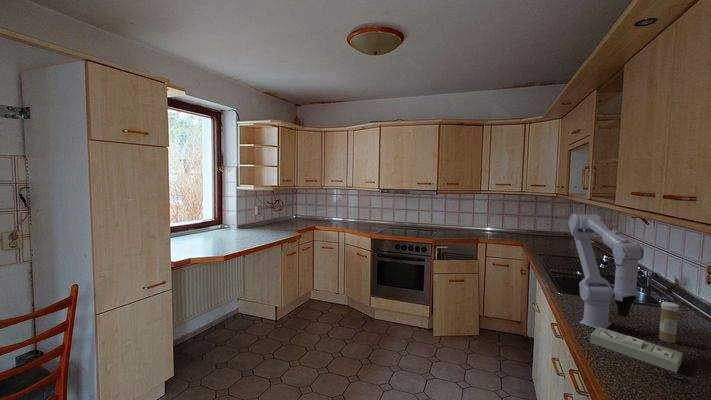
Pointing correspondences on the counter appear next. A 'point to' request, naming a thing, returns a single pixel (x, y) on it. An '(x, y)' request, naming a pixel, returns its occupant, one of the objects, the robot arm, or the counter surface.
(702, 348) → the counter surface
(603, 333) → the tile three pips
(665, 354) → the tile two pips
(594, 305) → the robot arm
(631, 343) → the tile one pip
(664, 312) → the sprinkles bottle
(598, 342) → the button board
